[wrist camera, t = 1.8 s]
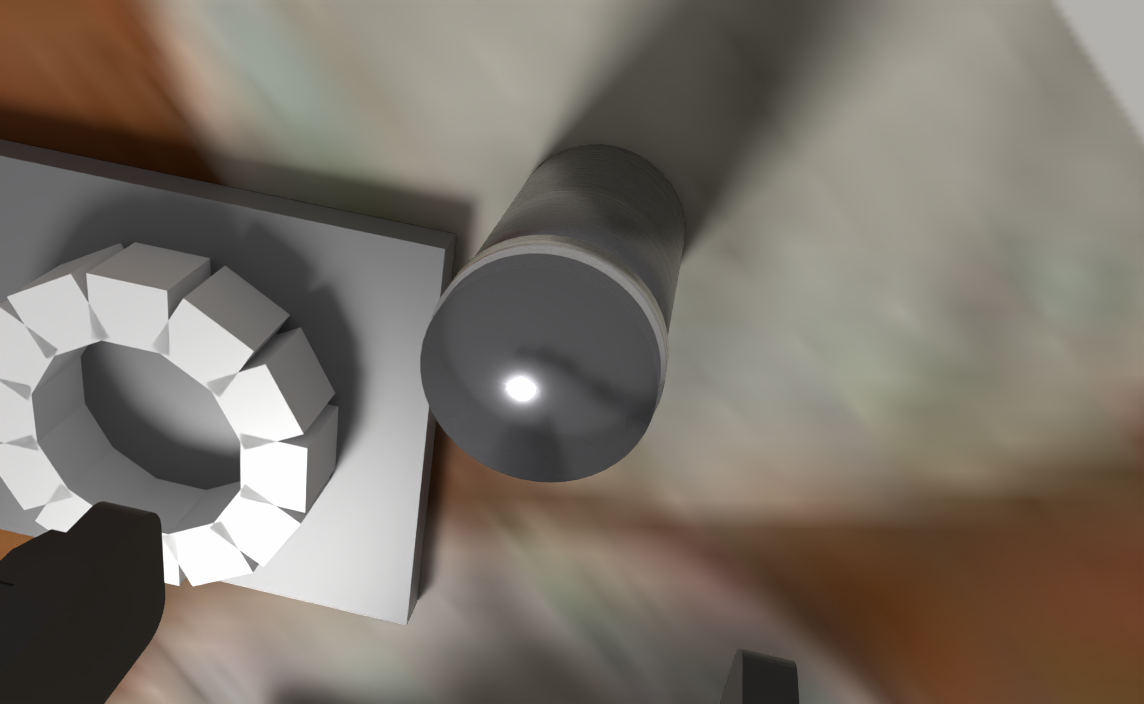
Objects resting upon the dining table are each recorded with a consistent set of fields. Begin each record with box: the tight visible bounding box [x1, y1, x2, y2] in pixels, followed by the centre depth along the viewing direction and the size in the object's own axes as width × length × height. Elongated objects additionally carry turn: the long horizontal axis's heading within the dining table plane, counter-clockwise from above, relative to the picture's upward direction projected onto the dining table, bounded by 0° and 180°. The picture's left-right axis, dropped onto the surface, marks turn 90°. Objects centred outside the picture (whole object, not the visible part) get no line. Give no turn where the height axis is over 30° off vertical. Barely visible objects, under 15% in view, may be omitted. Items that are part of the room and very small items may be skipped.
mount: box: [0, 139, 456, 625], centre depth 31 cm, size 16×14×4 cm
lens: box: [420, 145, 685, 482], centre depth 24 cm, size 5×5×9 cm
